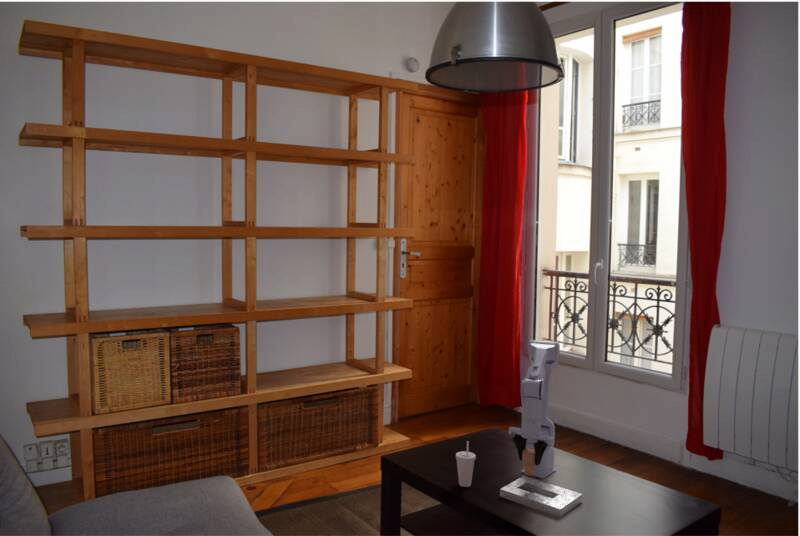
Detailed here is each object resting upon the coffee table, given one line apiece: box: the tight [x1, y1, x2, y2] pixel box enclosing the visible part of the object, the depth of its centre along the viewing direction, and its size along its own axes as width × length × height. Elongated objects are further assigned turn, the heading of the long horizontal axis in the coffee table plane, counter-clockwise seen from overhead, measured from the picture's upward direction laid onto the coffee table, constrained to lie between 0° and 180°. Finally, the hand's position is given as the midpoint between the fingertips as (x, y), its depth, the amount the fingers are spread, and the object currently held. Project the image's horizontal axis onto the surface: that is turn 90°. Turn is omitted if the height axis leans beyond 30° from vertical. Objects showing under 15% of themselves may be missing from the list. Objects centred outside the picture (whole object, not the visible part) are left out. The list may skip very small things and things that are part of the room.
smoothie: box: [455, 440, 477, 488], centre depth 202 cm, size 6×6×14 cm
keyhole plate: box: [499, 475, 583, 518], centre depth 193 cm, size 14×20×2 cm
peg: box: [521, 448, 535, 477], centre depth 195 cm, size 5×5×7 cm
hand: (529, 462), depth 195 cm, fingers closed on peg, 5 cm apart
